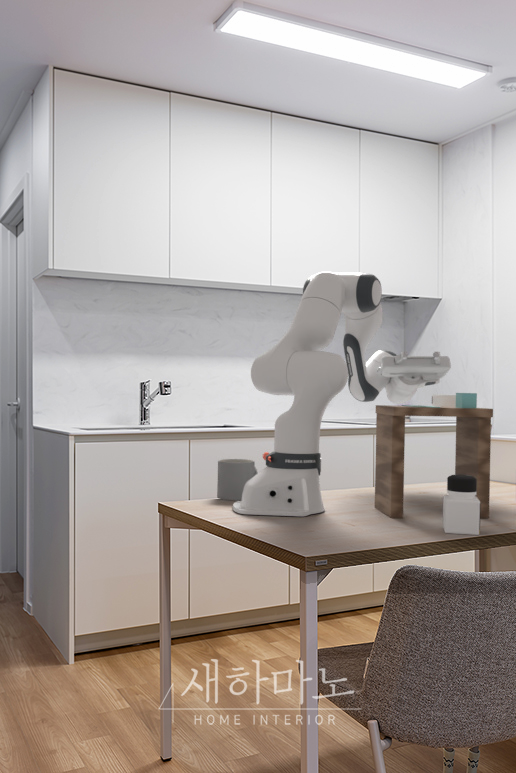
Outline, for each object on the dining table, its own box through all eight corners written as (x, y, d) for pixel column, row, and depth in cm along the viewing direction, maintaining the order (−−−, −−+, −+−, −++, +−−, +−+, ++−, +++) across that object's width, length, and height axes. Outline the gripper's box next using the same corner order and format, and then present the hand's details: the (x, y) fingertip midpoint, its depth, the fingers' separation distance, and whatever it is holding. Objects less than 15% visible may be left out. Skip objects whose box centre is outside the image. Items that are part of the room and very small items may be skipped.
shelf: (391, 518, 162) (394, 406, 162) (373, 506, 178) (375, 404, 178) (490, 518, 164) (493, 407, 164) (464, 507, 180) (466, 406, 180)
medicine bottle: (480, 535, 145) (481, 478, 145) (444, 533, 146) (445, 476, 146) (476, 528, 152) (477, 474, 152) (442, 527, 153) (443, 472, 153)
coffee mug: (231, 501, 181) (232, 463, 181) (209, 496, 189) (210, 459, 189) (271, 497, 190) (271, 460, 190) (248, 492, 198) (249, 457, 198)
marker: (476, 408, 166) (476, 393, 166) (462, 408, 166) (462, 392, 166) (441, 405, 189) (441, 392, 189) (428, 405, 189) (429, 392, 189)
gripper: (374, 364, 212) (384, 343, 199) (440, 365, 213) (454, 344, 200) (376, 383, 209) (386, 363, 197) (443, 383, 210) (457, 363, 197)
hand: (421, 353), depth 198 cm, fingers open, 8 cm apart
